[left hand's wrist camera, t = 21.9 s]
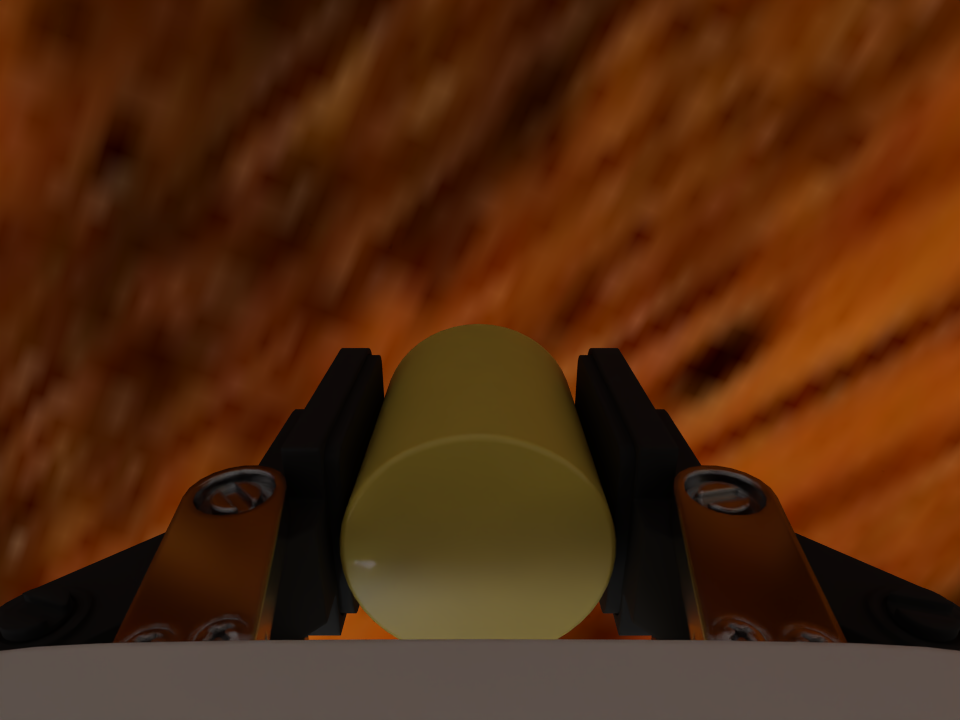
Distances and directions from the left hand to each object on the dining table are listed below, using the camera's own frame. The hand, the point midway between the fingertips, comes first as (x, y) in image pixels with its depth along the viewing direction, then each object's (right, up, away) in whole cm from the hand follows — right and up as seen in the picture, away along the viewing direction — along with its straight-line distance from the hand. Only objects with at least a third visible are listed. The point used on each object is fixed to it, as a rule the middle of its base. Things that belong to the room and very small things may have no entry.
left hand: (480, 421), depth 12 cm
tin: (0, 0, 0) cm, 0 cm away
